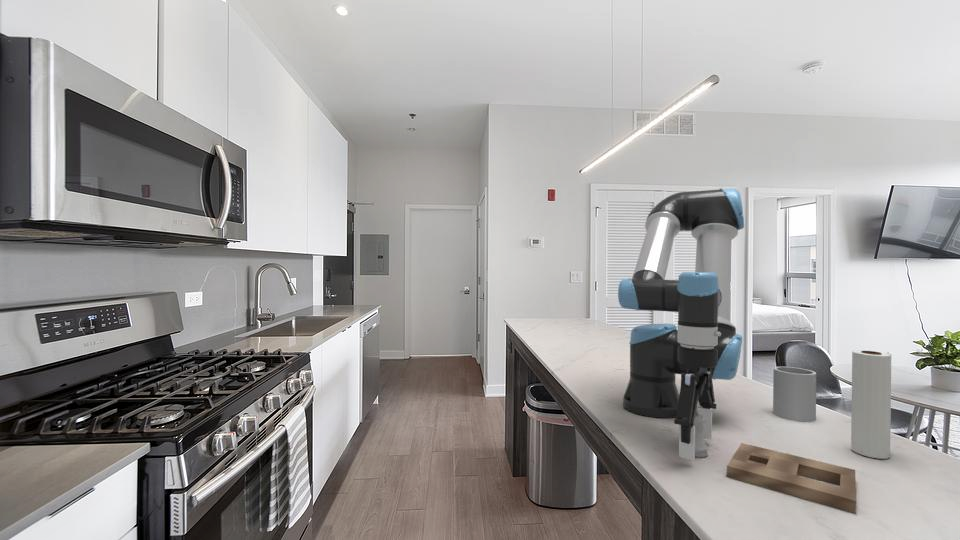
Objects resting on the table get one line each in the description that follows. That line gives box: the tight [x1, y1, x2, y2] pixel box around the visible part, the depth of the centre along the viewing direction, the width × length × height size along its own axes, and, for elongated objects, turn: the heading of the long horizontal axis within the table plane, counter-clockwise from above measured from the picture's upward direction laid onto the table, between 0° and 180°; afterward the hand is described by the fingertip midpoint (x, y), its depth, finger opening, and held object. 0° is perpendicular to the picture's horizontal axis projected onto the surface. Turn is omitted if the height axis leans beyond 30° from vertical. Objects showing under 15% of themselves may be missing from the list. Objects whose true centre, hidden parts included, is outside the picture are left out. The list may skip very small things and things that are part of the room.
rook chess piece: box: [694, 413, 709, 459], centre depth 89 cm, size 4×4×8 cm
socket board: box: [726, 442, 857, 514], centre depth 79 cm, size 18×14×2 cm
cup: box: [772, 366, 817, 423], centre depth 113 cm, size 9×9×12 cm
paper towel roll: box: [850, 350, 892, 460], centre depth 90 cm, size 7×6×21 cm
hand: (696, 447), depth 89 cm, fingers open, 13 cm apart
